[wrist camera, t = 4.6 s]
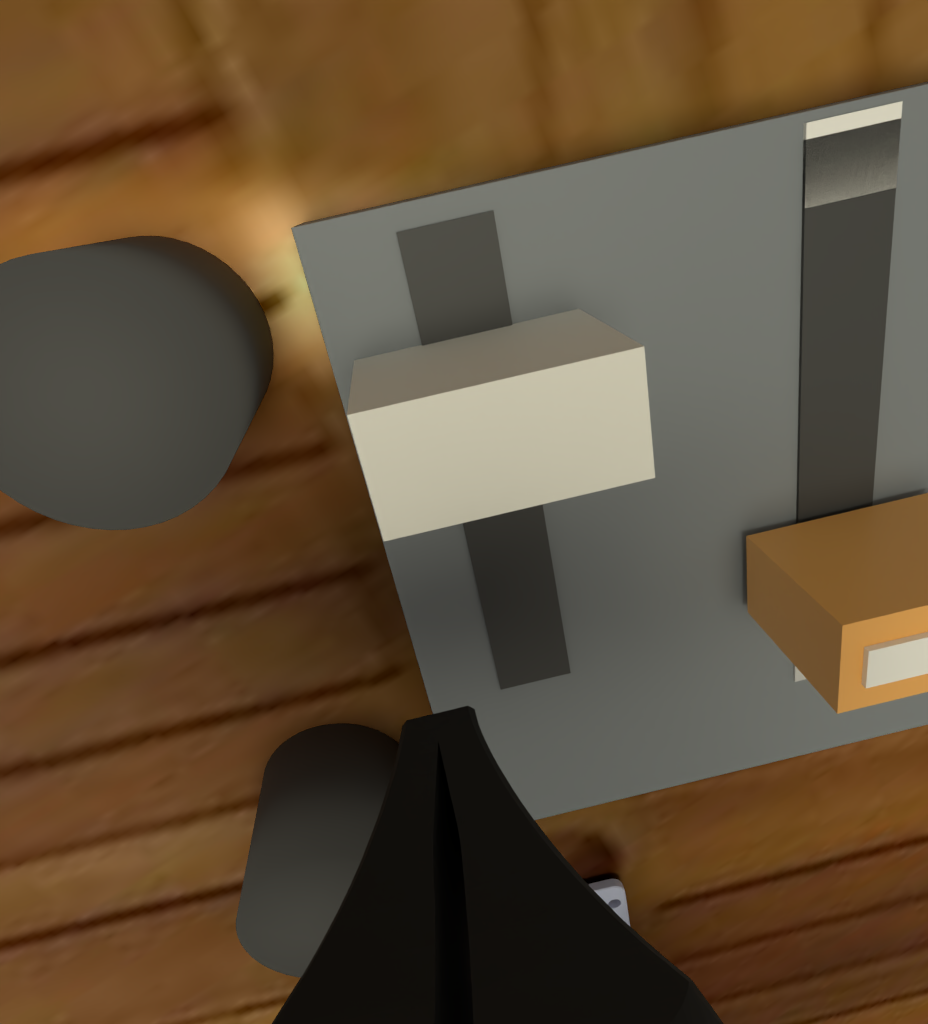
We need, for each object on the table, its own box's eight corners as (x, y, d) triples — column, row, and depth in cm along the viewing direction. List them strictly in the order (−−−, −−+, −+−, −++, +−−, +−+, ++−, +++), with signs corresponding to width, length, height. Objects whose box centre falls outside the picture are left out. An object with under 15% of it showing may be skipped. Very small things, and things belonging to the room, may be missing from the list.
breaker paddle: (924, 569, 19) (1062, 665, 15) (747, 612, 18) (841, 718, 15) (933, 491, 17) (1084, 572, 14) (746, 535, 17) (846, 629, 14)
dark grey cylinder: (427, 812, 24) (438, 954, 20) (290, 845, 24) (271, 995, 20) (393, 707, 22) (397, 839, 18) (242, 743, 22) (208, 886, 17)
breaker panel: (903, 667, 24) (1074, 821, 18) (459, 774, 24) (487, 967, 18) (969, 72, 16) (1312, 3, 10) (303, 222, 16) (260, 241, 10)
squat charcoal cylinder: (297, 423, 18) (274, 500, 13) (104, 462, 17) (14, 553, 13) (237, 217, 16) (186, 225, 11) (16, 258, 15) (-128, 283, 11)
